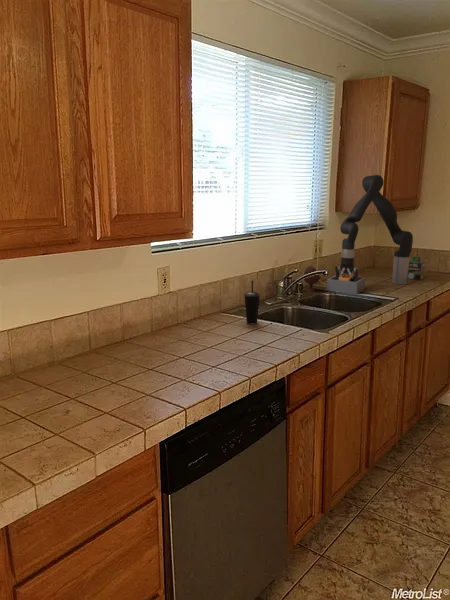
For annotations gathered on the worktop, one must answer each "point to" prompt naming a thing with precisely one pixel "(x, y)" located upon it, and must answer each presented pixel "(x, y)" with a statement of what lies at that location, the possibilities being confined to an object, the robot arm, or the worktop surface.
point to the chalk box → (416, 269)
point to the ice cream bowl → (311, 278)
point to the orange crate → (345, 278)
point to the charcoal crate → (346, 285)
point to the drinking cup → (252, 305)
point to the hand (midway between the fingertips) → (346, 284)
